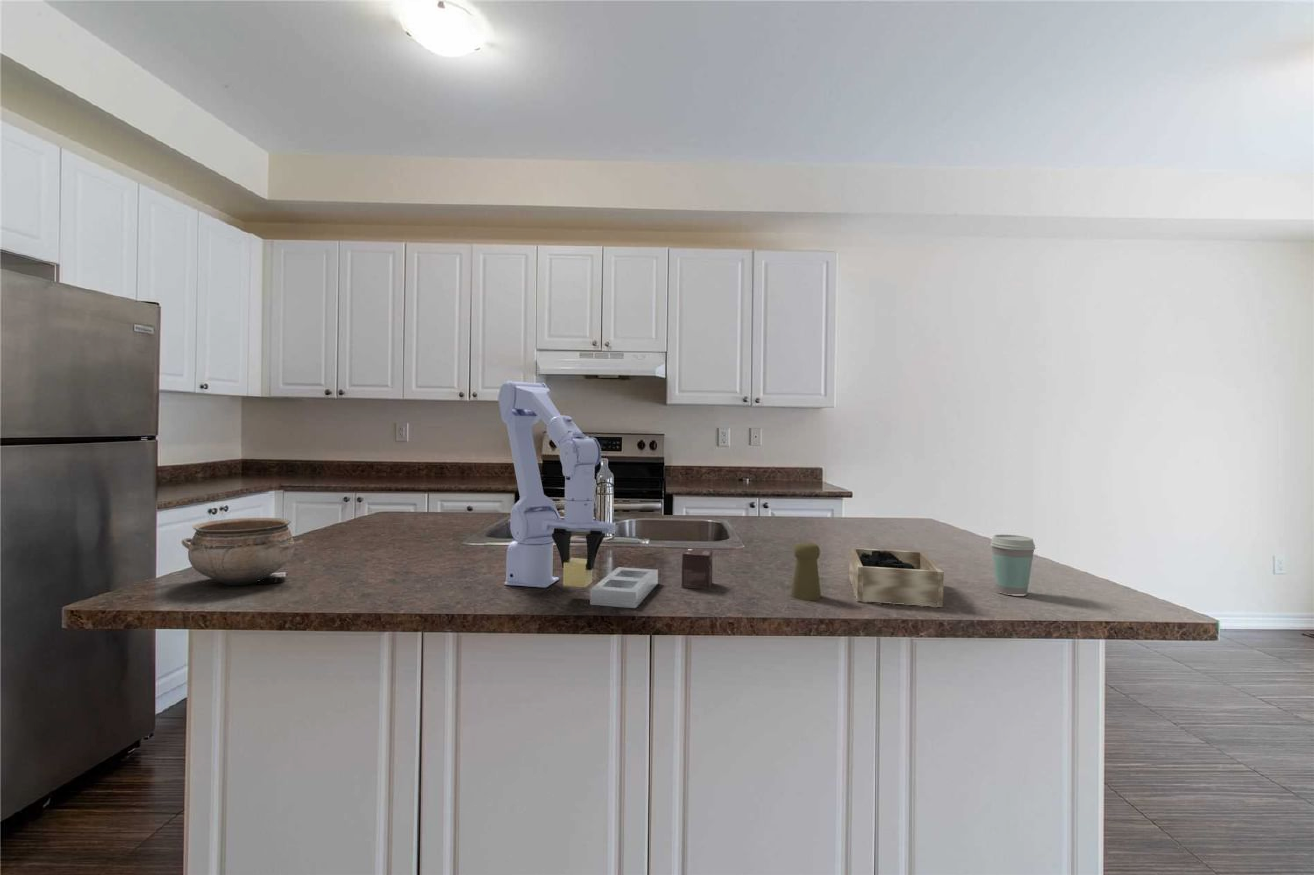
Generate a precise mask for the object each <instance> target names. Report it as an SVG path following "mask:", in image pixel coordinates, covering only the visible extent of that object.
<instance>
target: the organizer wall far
mask: <svg viewBox="0 0 1314 875" xmlns="http://www.w3.org/2000/svg"><path fill="white" fill-rule="evenodd" d="M854 548H855V550H856V552H857V555H858V557H861V555H862V554H863V553H866V554H870V555H871V554H872V551H880V552H884V551H886V552H890V553H891V554H893V555H894V556H895V557H897V558H898V559H899V561H902V562H905V563H909V564H911V565H913V566H914V568H915V569H917V570H919V564H920V552H921V551H915V550H914V551H913V550H896V549H895V550H893V549H878V548H877V549H875V548H860V547H859V548H857V547H854Z"/></svg>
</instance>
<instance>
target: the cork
mask: <svg viewBox="0 0 1314 875" xmlns="http://www.w3.org/2000/svg"><path fill="white" fill-rule="evenodd" d="M793 553H794V557H795V558H796V561H795V567H794V573H793V580H792V584H791V586H792V587H791V590H790V592H791V593H790V597H792V598H793V599H797V600H802V601H817V600H821V599H822V594H821V586H820V577H819V567H818V559H819V558H820V555H821V549H820V547H819V545H817V544H816V543H813V542H807V541H805V542H798V543H796V544H795V546H794V548H793Z"/></svg>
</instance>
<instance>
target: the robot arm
mask: <svg viewBox="0 0 1314 875" xmlns="http://www.w3.org/2000/svg"><path fill="white" fill-rule="evenodd" d="M551 395H552V394H551V389H549V388H548V386H547V384H546V383H544V382H524V381H511V380H505V381H504V382H503V383H502V384H501V386H500V389H499V393H498V396H497V400H498V401H497V402H498V405H499V411H500V416H501V420H502V422H503V423H504V424H506V429H507V433H508V438H509V439H508V440H509V446H510V451H511V457H512V462H513V466H514V473H515V478H516V482H517V489H518V494H519V500H517V501H516V502H515V503H514V505H513V506H512V507H511V509H510V510H509V511H510V512H509V513H510V514H509V515H510V524H509V525H510V529H509V530H510V533H511V536H512V537H513V539H514V540H512V541H511V542H509V544H508V546H507V550H506V557H505V558H506V560H505V563H506V564H505V565H506V566H505V567H506V568H505V582H504V585H505V586H506V585H507V586H521V587H531V588H532V587H533V588H534V587H535V588H544V589H545V588H547V587H549V586H552V584H554V583H555V582H557V581H558V580H560V577H559V576H553V571H554V570H553V565H554V564H553V560H554V558H553V557H554V554H553V553H554V543H555V546H556V548H557V550H558V554H559V557H560V561H561V567H562V569H564V562H565V561H567V560H569V559H570V554H571V553H570V552H571V551H570V550H571V549H570V548H571V547H570V546H571V538H572V532H580V533H588V534H586V535H585V541H586V549H587V550H586V552H587V556H586V559H587V570H592V569H594V568H595V562H596V558H597V554H598V551H599V550H600V549H599V548H600V546H601V544H602V542H603V540H604V538H605V536H606V534H608V535H613V534H614V535H615V534H616V529H617V528H616V525H617V523H616V522H610V521H609V522H608V521H600V520H599V521H598V520H594V517H595V516H594V513H595V512H594V511H595V510H594V508H595V471H596V470H595V469H596V468H595V467H596V466H597V465H599V463H600V461H601V459H602V447H601V445H600V442H599V441H598V438H596V437H589V436H587V435H585V434H584V433H583V432H582V431H581V429H580V428H579V427H578V426H577V425H576V423H575V422H574V421H573V418H572V417H571V416H570V415H569V416H568V415H566V414H565V415H563V414H562V415H561V413H560V412H559V410H558V409H557V407H556V406H555V404H554V403H553V401H552V400H551ZM540 420H541V421H542V422H543V423H544V424H545V425H546V426H547V428H546V434H547V436H548V437H549V439H550V440H551V441H552V442H553V443H554V445H555V447H557V449H558V450H559V451H558V452H559V454H558V455H559V460H560V463H561V466H562V469H561V470H562V475H563V476H564V480H565V481H564V508H563V509H564V514H563V515H564V518H563V519H562V517H561V515H560V513H559V511H558V509H557V506H556V502H555V501H554V500H553V499H551V498H549V497H548V496H547V495H545V493H544V489H543V483H542V477H541V472H540V468H539V463H538V457H537V453H536V447H535V442H534V437H533V436H534V435H533V431H532V426H533V425H535V424H537V423H539V422H540ZM597 467H598V466H597Z"/></svg>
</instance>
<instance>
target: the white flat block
mask: <svg viewBox="0 0 1314 875" xmlns="http://www.w3.org/2000/svg"><path fill="white" fill-rule="evenodd" d="M658 584H659V570H658V569H649V568H636V567H623V566H621V567H620V566H619V567H616V568H615V569H614V570H612V571H611V572H610V573H608V575H606V576H605V577H604V578H602V579H601V580H600V581H599V582H597V583H596V584H595V585H594V586H593V587H590V589H589V591H590V592H589V605H592V606H602V607H604V606H605V607H617V608H628V609H629V608H630V609H637V607H638V606H639V605H640V604H641V603H642V602H643V601H644V600H645V598H647V597H648V595H649V594H650V592H652V590H654V588H655V587H656V586H657V585H658Z"/></svg>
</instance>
